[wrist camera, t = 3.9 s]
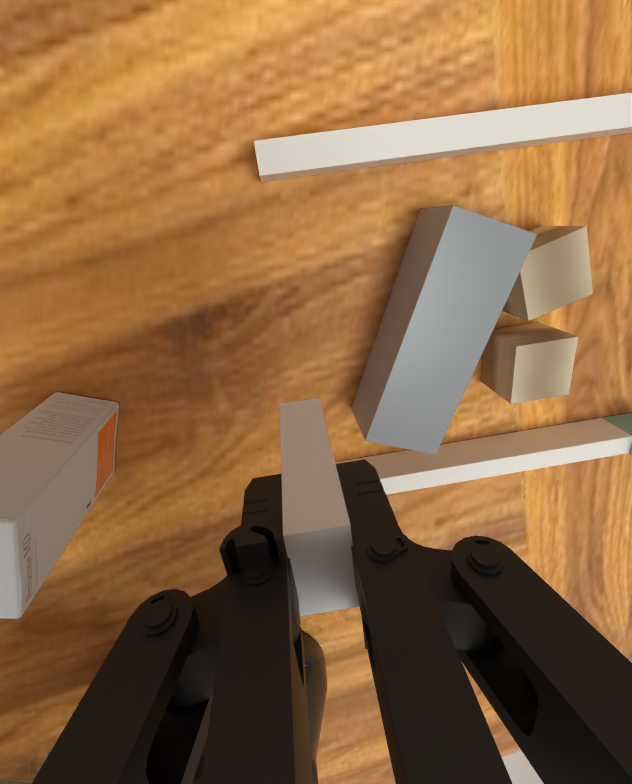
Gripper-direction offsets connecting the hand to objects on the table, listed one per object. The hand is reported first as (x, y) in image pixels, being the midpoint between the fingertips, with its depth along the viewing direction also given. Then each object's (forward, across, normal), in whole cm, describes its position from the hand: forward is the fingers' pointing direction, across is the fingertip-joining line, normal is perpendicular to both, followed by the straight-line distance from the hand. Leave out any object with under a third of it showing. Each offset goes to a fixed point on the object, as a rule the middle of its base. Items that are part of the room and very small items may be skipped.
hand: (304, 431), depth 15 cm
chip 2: (+13, +16, -4) cm, 20 cm away
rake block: (+13, +9, 0) cm, 15 cm away
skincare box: (+12, -15, -4) cm, 20 cm away
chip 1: (+13, +16, +2) cm, 20 cm away
